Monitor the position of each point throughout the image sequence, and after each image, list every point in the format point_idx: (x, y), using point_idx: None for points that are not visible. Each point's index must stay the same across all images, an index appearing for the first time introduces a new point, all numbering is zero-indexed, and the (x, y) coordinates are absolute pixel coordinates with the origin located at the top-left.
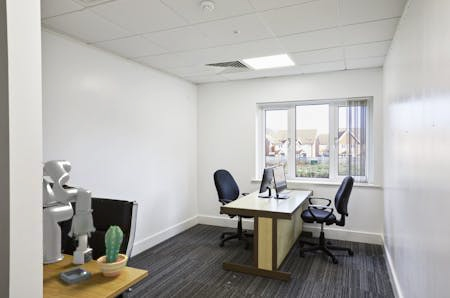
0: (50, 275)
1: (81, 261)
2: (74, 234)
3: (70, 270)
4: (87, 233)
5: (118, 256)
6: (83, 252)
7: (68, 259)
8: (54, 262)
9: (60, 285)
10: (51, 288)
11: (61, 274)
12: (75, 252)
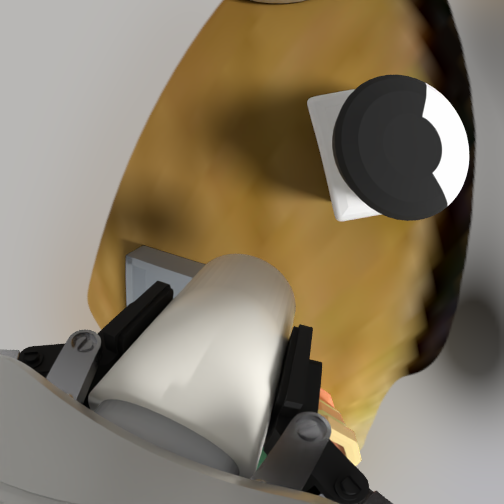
0: (141, 160)
1: (327, 183)
2: (48, 380)
3: (169, 278)
4: (290, 464)
5: (344, 450)
6: (338, 208)
7: (348, 20)
8: (259, 1)
9: (123, 298)
10: (99, 287)
11: (126, 272)
12: (312, 119)
